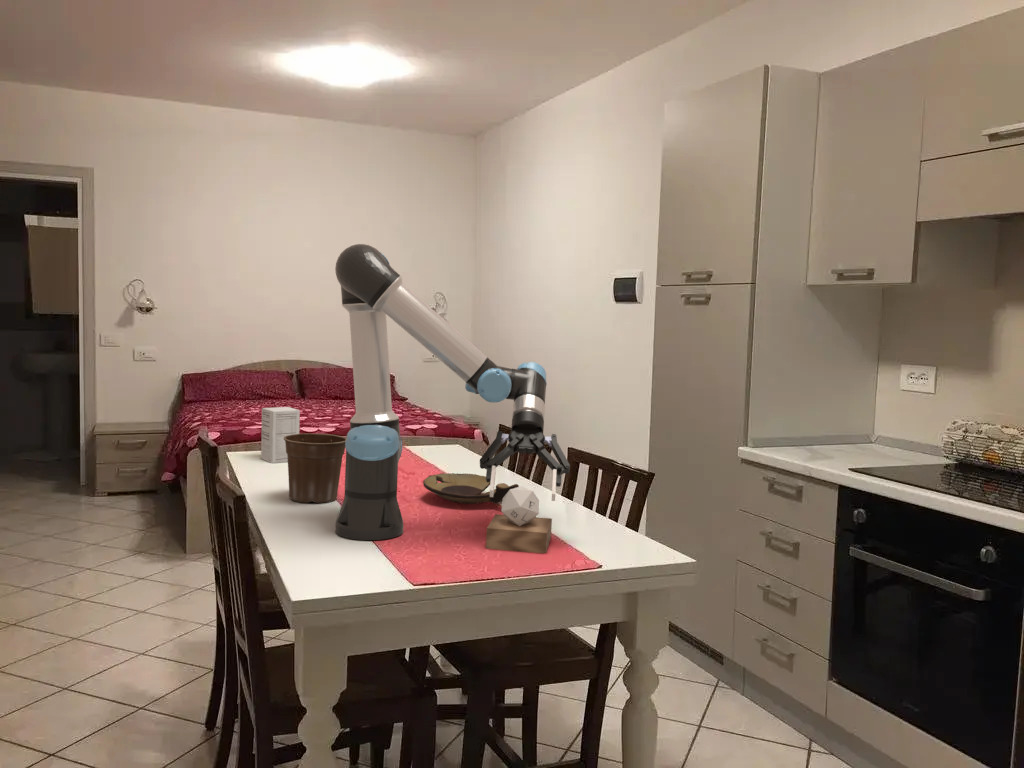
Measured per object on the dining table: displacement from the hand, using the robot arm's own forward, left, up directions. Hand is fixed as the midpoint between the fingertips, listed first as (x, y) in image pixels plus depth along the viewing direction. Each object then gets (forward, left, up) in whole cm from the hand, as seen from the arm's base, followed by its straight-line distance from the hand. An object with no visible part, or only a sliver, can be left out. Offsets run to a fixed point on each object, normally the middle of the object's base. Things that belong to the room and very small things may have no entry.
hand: (522, 495), depth 179 cm
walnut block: (0, +2, -12) cm, 12 cm away
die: (0, +2, -7) cm, 7 cm away
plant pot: (-55, +33, -11) cm, 65 cm away
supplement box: (-81, +84, -11) cm, 117 cm away
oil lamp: (-15, +39, -11) cm, 43 cm away
